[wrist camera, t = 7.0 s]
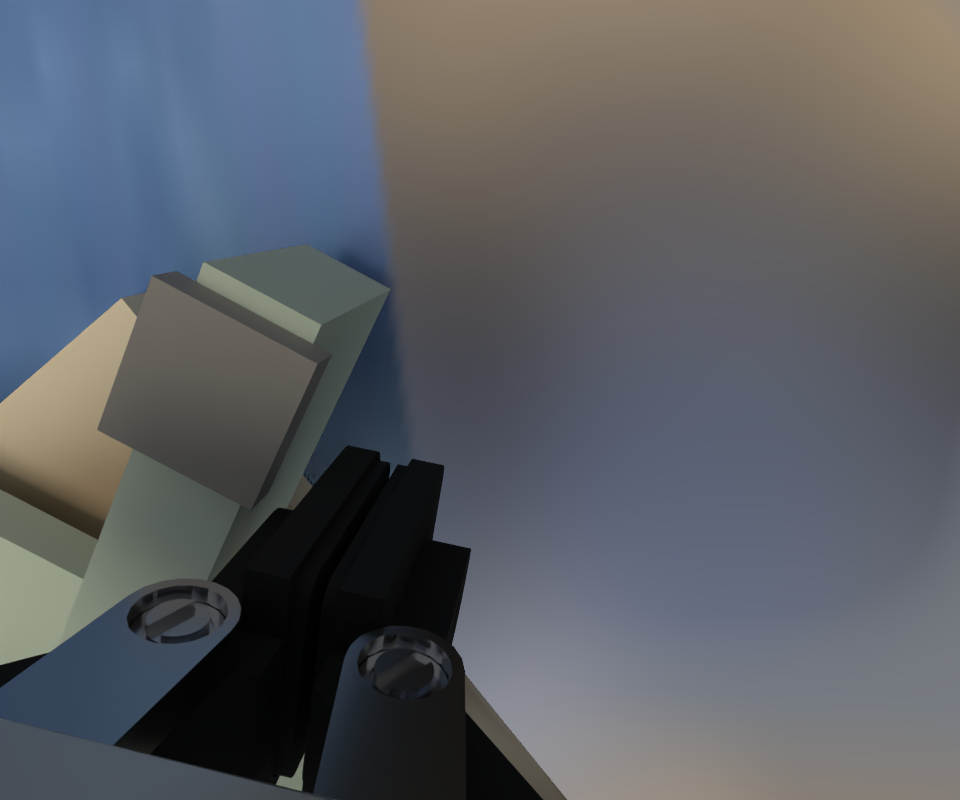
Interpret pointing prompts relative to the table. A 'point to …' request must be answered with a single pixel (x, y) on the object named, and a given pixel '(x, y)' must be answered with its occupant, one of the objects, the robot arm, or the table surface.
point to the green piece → (195, 437)
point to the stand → (102, 461)
